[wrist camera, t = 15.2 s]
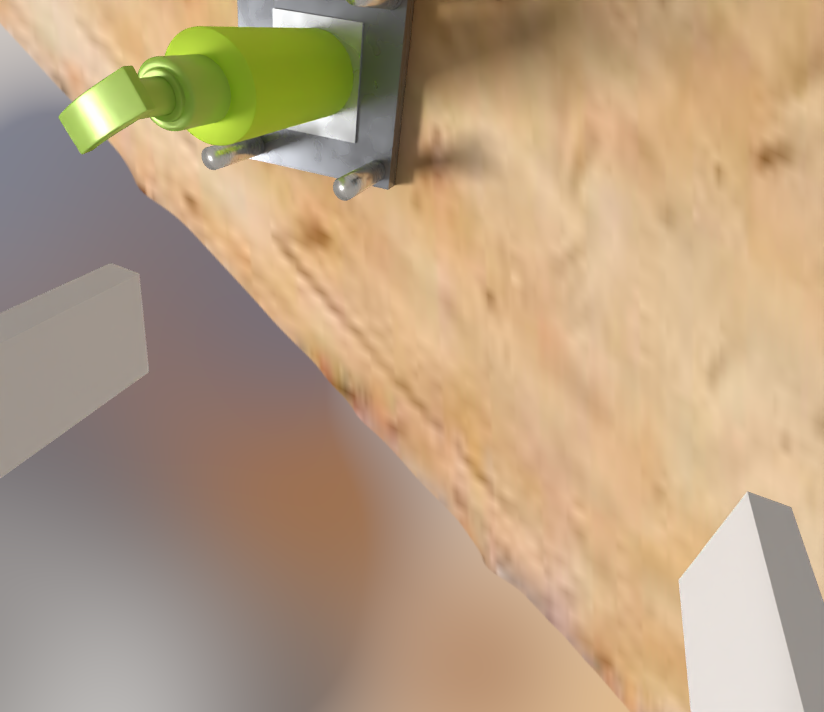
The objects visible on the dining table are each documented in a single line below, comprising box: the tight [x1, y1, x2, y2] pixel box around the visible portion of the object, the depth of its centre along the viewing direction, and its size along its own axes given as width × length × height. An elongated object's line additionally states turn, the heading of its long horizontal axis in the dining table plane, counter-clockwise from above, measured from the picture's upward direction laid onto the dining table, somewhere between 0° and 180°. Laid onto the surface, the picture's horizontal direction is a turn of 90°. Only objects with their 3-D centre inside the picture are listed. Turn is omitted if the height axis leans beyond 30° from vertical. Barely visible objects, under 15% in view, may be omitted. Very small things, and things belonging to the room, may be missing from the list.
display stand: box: [202, 0, 414, 201], centre depth 39 cm, size 14×13×8 cm
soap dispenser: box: [59, 26, 353, 154], centre depth 33 cm, size 6×7×20 cm
